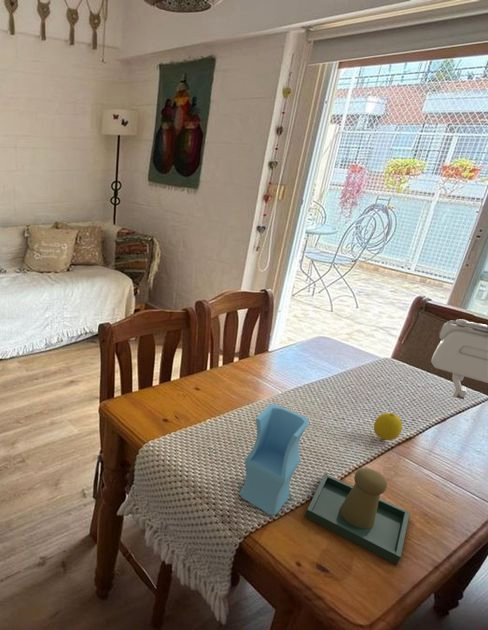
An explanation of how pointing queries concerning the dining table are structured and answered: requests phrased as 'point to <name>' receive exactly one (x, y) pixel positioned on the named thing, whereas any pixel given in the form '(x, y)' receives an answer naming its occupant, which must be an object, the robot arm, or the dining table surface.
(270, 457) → the blue toy chair
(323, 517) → the spice tray
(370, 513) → the pepper mill
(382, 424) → the lemon
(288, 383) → the dining table surface
